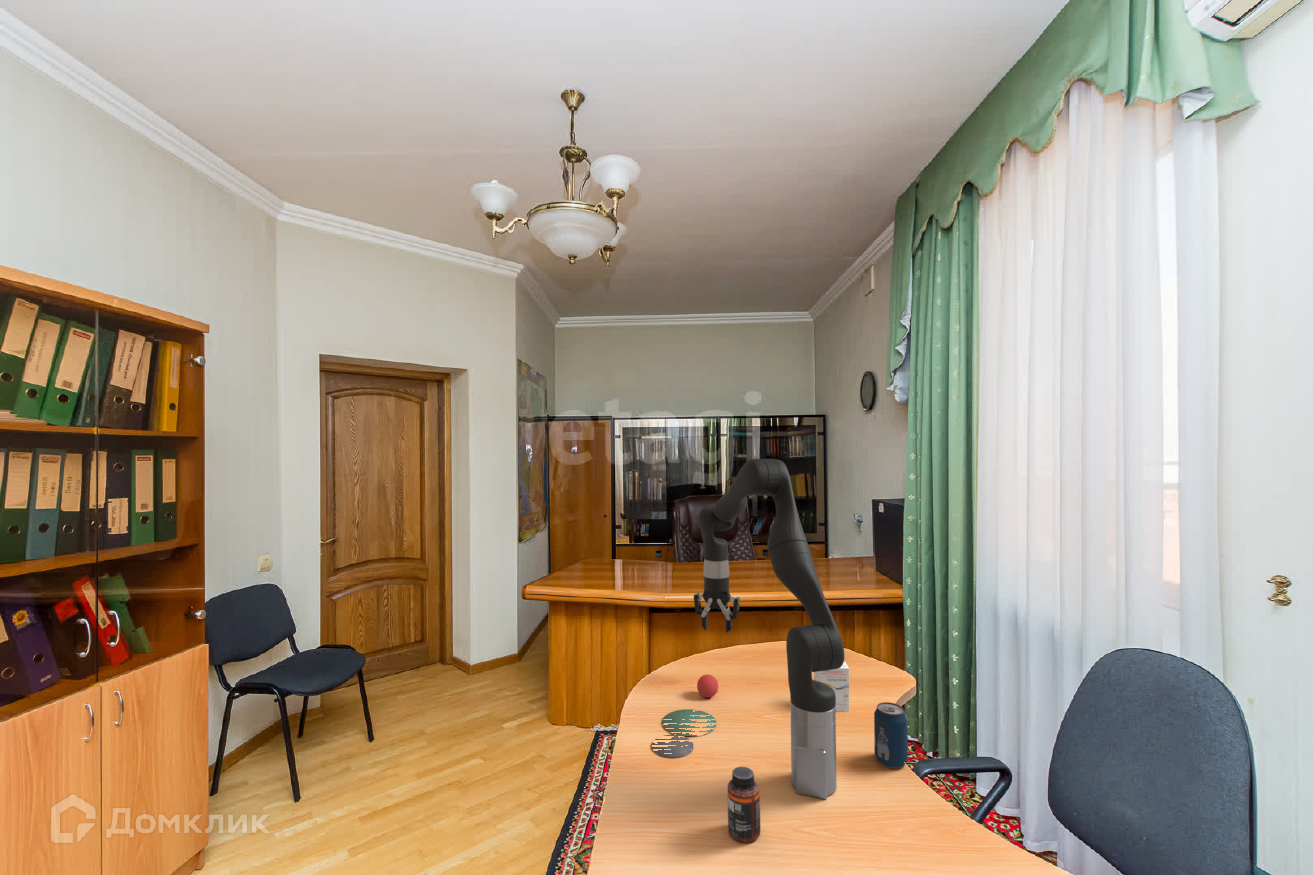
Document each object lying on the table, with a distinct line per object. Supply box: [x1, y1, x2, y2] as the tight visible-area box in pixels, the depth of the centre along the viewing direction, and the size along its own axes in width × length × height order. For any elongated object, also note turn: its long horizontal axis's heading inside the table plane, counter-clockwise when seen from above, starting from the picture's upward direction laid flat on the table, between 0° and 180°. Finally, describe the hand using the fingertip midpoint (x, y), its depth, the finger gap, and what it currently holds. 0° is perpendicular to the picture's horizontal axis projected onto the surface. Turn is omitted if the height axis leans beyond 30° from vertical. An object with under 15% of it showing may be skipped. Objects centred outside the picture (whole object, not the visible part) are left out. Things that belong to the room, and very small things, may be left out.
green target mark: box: [661, 708, 717, 736], centre depth 148 cm, size 14×14×1 cm
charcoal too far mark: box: [651, 734, 694, 759], centre depth 137 cm, size 10×10×1 cm
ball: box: [696, 674, 719, 699], centre depth 163 cm, size 6×6×6 cm
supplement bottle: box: [726, 766, 761, 843], centre depth 107 cm, size 6×6×11 cm
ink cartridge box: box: [813, 650, 850, 712], centre depth 156 cm, size 9×5×15 cm, turn 84°
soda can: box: [873, 701, 909, 769], centre depth 130 cm, size 7×7×12 cm
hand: (716, 630), depth 172 cm, fingers open, 6 cm apart
